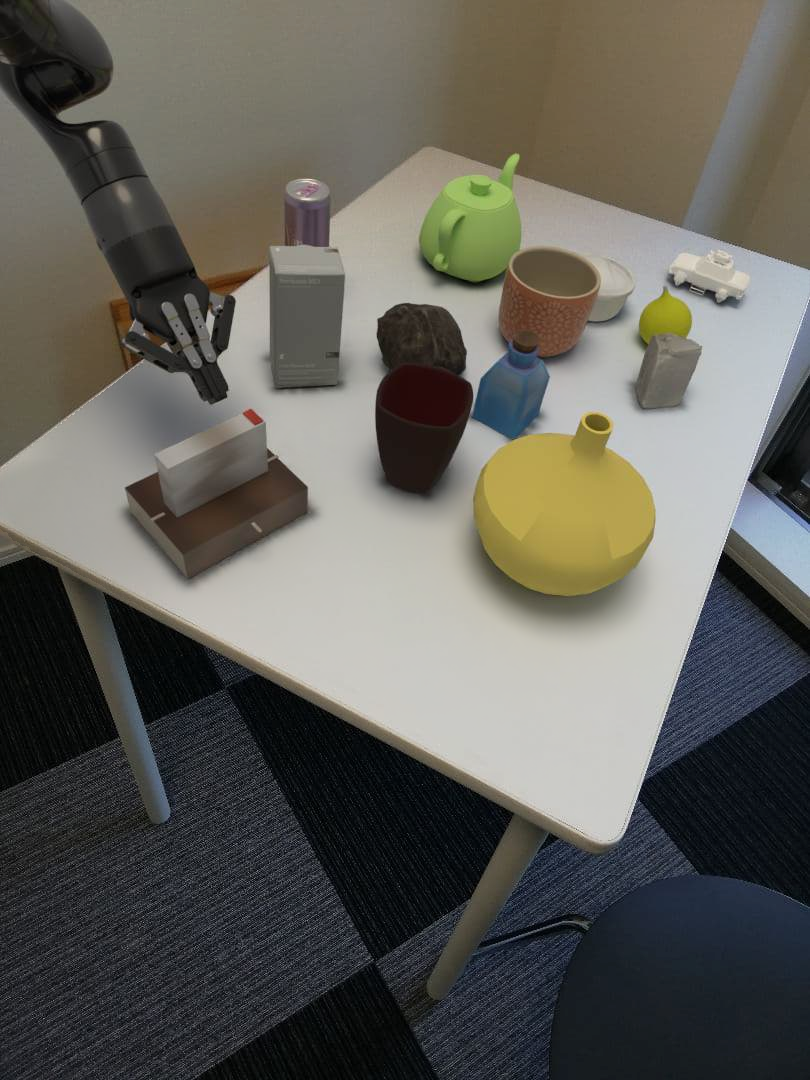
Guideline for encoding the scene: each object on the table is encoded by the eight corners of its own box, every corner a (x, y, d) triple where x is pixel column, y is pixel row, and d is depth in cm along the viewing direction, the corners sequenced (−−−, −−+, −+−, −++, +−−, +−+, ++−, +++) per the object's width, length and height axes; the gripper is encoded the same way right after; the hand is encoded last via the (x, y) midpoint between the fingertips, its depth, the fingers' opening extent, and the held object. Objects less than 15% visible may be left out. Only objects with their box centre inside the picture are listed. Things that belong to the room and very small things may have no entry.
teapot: (463, 215, 129) (477, 134, 118) (542, 248, 124) (564, 167, 114) (391, 270, 116) (400, 184, 106) (477, 308, 112) (494, 223, 102)
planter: (538, 380, 103) (559, 309, 94) (473, 332, 108) (488, 262, 100) (596, 348, 109) (621, 279, 100) (532, 304, 114) (551, 236, 106)
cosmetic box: (274, 390, 96) (270, 277, 84) (269, 354, 100) (264, 242, 88) (341, 386, 98) (347, 275, 86) (333, 351, 102) (337, 241, 90)
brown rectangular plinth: (198, 593, 76) (194, 568, 73) (120, 501, 82) (112, 474, 79) (320, 523, 83) (321, 497, 80) (239, 443, 90) (237, 416, 86)
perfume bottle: (497, 393, 100) (516, 314, 91) (537, 415, 98) (562, 337, 89) (471, 417, 97) (489, 338, 87) (513, 440, 95) (536, 361, 86)
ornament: (624, 330, 112) (647, 268, 105) (666, 327, 114) (693, 266, 106) (645, 361, 108) (671, 299, 100) (689, 357, 110) (718, 296, 102)
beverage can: (335, 290, 111) (340, 188, 99) (311, 308, 108) (312, 205, 96) (302, 274, 113) (303, 173, 101) (277, 292, 109) (274, 189, 98)
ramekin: (639, 315, 115) (651, 283, 111) (585, 335, 110) (596, 303, 106) (588, 276, 121) (599, 245, 116) (535, 294, 116) (544, 262, 112)
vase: (629, 640, 78) (706, 517, 63) (451, 604, 78) (486, 473, 63) (627, 508, 89) (691, 379, 75) (472, 477, 90) (506, 343, 75)
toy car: (672, 267, 125) (689, 228, 120) (744, 294, 122) (764, 255, 117) (661, 283, 121) (677, 244, 116) (735, 312, 118) (755, 272, 113)
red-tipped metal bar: (177, 518, 76) (167, 466, 71) (164, 503, 77) (153, 452, 72) (268, 470, 82) (265, 420, 76) (255, 457, 83) (251, 406, 77)
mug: (357, 490, 87) (364, 409, 78) (397, 415, 95) (407, 334, 86) (440, 516, 86) (457, 438, 76) (473, 438, 94) (491, 359, 85)
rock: (478, 385, 99) (478, 316, 92) (395, 405, 98) (389, 337, 90) (451, 344, 106) (450, 277, 99) (373, 362, 104) (366, 295, 97)
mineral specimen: (700, 397, 103) (716, 352, 96) (644, 419, 102) (656, 376, 95) (669, 362, 107) (682, 316, 100) (615, 383, 106) (624, 338, 99)
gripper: (82, 245, 69) (173, 421, 74) (208, 206, 76) (285, 371, 80) (68, 270, 76) (152, 431, 80) (185, 232, 82) (258, 384, 86)
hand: (219, 401), depth 80 cm, fingers closed
